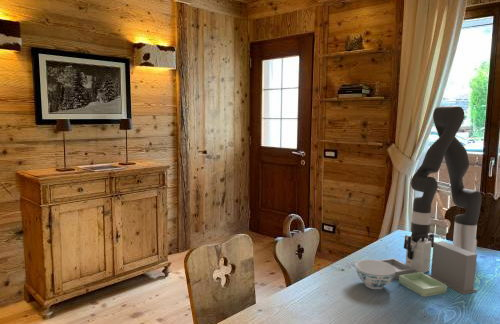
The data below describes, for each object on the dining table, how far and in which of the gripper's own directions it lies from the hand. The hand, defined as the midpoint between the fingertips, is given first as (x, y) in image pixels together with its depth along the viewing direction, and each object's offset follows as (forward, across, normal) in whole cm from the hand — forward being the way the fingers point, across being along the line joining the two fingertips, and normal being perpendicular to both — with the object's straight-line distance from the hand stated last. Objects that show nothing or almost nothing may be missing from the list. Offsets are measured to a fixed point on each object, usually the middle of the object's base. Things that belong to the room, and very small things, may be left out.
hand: (417, 257), depth 168 cm
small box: (+5, 0, 0) cm, 5 cm away
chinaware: (+6, +29, +8) cm, 30 cm away
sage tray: (+5, +12, +15) cm, 20 cm away
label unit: (+5, -2, +16) cm, 17 cm away
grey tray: (+5, +12, -1) cm, 13 cm away
